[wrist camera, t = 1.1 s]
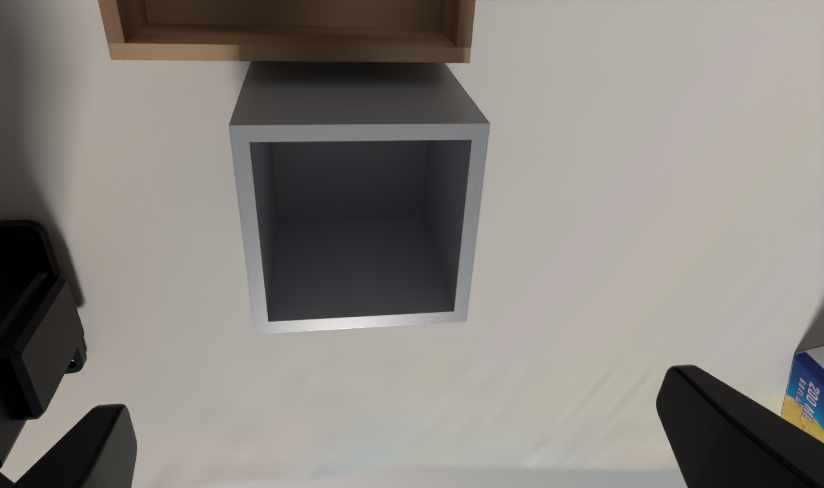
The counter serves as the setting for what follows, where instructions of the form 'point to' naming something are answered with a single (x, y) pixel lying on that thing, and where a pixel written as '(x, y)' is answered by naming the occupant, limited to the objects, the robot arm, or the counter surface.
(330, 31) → the walnut crate
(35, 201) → the counter surface
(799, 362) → the blue cardboard box
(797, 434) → the robot arm
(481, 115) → the grey plastic crate
